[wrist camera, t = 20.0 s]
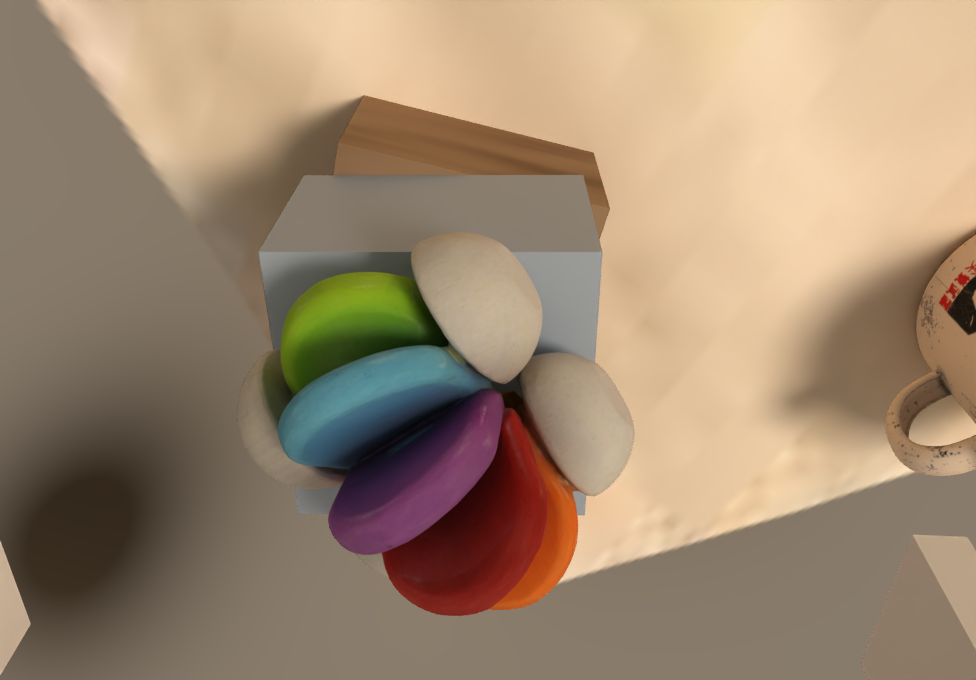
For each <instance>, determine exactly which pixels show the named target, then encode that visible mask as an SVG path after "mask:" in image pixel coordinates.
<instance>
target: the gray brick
mask: <svg viewBox="0 0 976 680" xmlns="http://www.w3.org/2000/svg"><path fill="white" fill-rule="evenodd" d="M450 232H468V233H475V234H480V235H483V236H486V237H489V238H491V239H494V240H496V241H498V242H499V243H501V244H503V245H504V246H505V247H506V248H508V249H509V250H510V252H511V253H512V254H513V255H514V256H515V257H516V258H517V259H518V261H519V262H520V263H521V264H522V266H523V267H524V269H525V270H526V272H527V274H528V275H529V277H530V278H531V280H532V282H533V284H534V286H535V288H536V290H537V293H538V295H539V298H540V300H541V305H542V328H541V333H540V337H539V341H538V344H537V346H536V349H535V351H534V353H533V355H532V356H531V357H533V356H536V355H540V354H546V353H555V352H561V353H569V354H575V355H578V356H581V357H584V358H586V359H588V360H590V361H592V362H594V363H595V353H596V338H597V323H598V308H599V293H600V279H601V264H602V249H601V245H600V241H599V237H598V233H597V229H596V225H595V221H594V216H593V212H592V208H591V204H590V200H589V196H588V192H587V188H586V184H585V180H584V176H583V175H304V176H303V178H302V180H301V181H300V183H299V185H298V186H297V188H296V190H295V191H294V193H293V195H292V196H291V198H290V200H289V201H288V203H287V205H286V206H285V208H284V210H283V211H282V213H281V215H280V216H279V218H278V220H277V221H276V223H275V225H274V227H273V228H272V230H271V232H270V233H269V235H268V237H267V238H266V240H265V242H264V243H263V245H262V247H261V248H260V250H259V259H260V266H261V272H262V279H263V285H264V292H265V298H266V305H267V311H268V318H269V324H270V331H271V337H272V344H273V350H274V349H280V347H281V338H282V331H283V326H284V322H285V319H286V317H287V314H288V312H289V310H290V309H291V307H292V306H293V304H294V303H295V302H296V301H297V299H298V298H299V297H300V296H301V295H302V294H304V293H305V292H306V291H307V290H308V289H309V288H311V287H312V286H314V285H315V284H316V283H318V282H320V281H322V280H324V279H327V278H329V277H333V276H336V275H340V274H345V273H353V272H383V273H389V274H394V275H398V276H404V277H409V278H412V279H414V280H415V277H414V274H413V269H412V264H411V253H412V249H413V248H414V246H415V245H417V244H418V243H419V242H420V241H423V240H425V239H427V238H430V237H433V236H436V235H439V234H444V233H450ZM490 383H491V386H492V387H493V388H494V389H495V390H496V391H498V392H499V393H500V392H510V391H512V390H513V391H515V392H516V393H517V394H518V395H519V396H520V397H521V398H522V395H521V388H520V386H519V383H518V375H516V376H515V377H514V378H513V379H512V380H511V381H510V382H508V383H506V384H500V383H497V382H494V381H491V382H490ZM340 487H341V485H339V486H336V487H331V488H326V489H318V490H313V489H302V488H297V487H294V488H295V494H296V500H297V507H298V513H299V514H329V512H330V509H331V506H332V504H333V502H334V500H335V498H336V496H337V494H338V491H339V489H340ZM573 496H574V500H575V503H576V509H577V515H585V502H586V495H585V494H583V493H582V492H580V491H574V492H573Z"/></svg>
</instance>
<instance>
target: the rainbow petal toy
mask: <svg viewBox="0 0 976 680" xmlns="http://www.w3.org/2000/svg"><path fill="white" fill-rule="evenodd" d="M411 264H412V269H413V274H414V277H415V280H414V279H412V278H409V277H404V276H398V275H394V274H389V273H383V272H353V273H345V274H340V275H336V276H333V277H329V278H327V279H324V280H322V281H320V282H318V283H316V284H315V285H314V286H312V287H311V288H309V289H308V290H307V291H306V292H305V293H304V294H302V295H301V296H300V297H299V298H298V299H297V301H296V302H295V303H294V304H293V306H292V307H291V309H290V310H289V312H288V314H287V317H286V319H285V322H284V326H283V331H282V338H281V347H280V349H274V350H271V351H269V352H267V353H266V354H264V355H263V356H262V357H261V358H260V359H259V360H258V361H257V362H256V363H255V364H254V366H253V367H252V369H251V370H250V371H249V373H248V375H247V377H246V378H245V380H244V382H243V385H242V388H241V391H240V394H239V400H238V407H237V421H238V426H239V431H240V436H241V438H242V441H243V443H244V445H245V447H246V449H247V451H248V453H249V454H250V456H251V457H252V459H253V460H254V461H255V463H256V464H257V465H258V466H259V467H260V468H261V469H262V470H263V471H265V472H266V473H267V474H269V475H270V476H271V477H273V478H274V479H276V480H278V481H280V482H282V483H285V484H287V485H290V486H293V487H297V488H302V489H313V490H318V489H326V488H331V487H336V486H339V485H341V487H340V489H339V491H338V494H337V496H336V498H335V500H334V502H333V504H332V506H331V509H330V512H329V518H328V522H329V528H330V530H331V532H332V535H333V536H334V538H335V539H336V540H337V541H338V542H339V544H340V545H341V546H343V547H344V548H345V549H347V550H349V551H351V552H353V553H355V554H356V556H357V557H358V558H359V559H360V560H361V561H362V562H363V563H364V564H365V565H367V566H368V567H369V568H371V569H372V570H374V571H376V572H377V573H379V574H381V575H383V576H385V577H389V579H390V580H391V582H392V583H393V585H394V586H395V588H396V589H397V590H398V591H399V592H400V593H401V595H403V596H404V597H405V598H406V599H408V600H409V601H410V602H411V603H413V604H415V605H416V606H418V607H420V608H422V609H424V610H426V611H429V612H432V613H435V614H440V615H449V616H462V615H471V614H476V613H479V612H482V611H484V610H487V609H493V610H510V609H517V608H521V607H525V606H527V605H531V604H533V603H535V602H537V601H538V600H539V599H541V598H542V597H544V596H545V595H546V594H547V593H548V592H549V591H550V590H552V589H553V588H554V587H555V585H556V584H557V583H558V582H559V580H560V579H561V578H562V576H563V575H564V573H565V571H566V569H567V568H568V566H569V564H570V562H571V559H572V557H573V554H574V551H575V547H576V544H577V535H578V518H577V509H576V503H575V500H574V496H573V492H574V491H580V492H582V493H583V494H585V495H588V496H596V495H598V494H600V493H602V492H603V491H604V490H606V489H607V488H608V487H609V486H610V485H611V484H612V483H613V482H614V481H615V480H616V479H617V478H618V476H619V475H620V474H621V472H622V471H623V469H624V467H625V465H626V463H627V461H628V459H629V456H630V454H631V450H632V446H633V440H634V425H633V421H632V418H631V415H630V412H629V410H628V408H627V406H626V404H625V402H624V400H623V398H622V396H621V394H620V392H619V391H618V389H617V387H616V386H615V384H614V382H613V381H612V380H611V378H610V377H609V376H608V374H607V373H606V372H605V371H604V370H603V368H602V367H600V366H599V365H598V364H596V363H594V362H592V361H590V360H588V359H586V358H584V357H581V356H578V355H575V354H569V353H561V352H555V353H546V354H540V355H536V356H533V357H531V356H532V355H533V353H534V351H535V349H536V346H537V344H538V341H539V337H540V333H541V328H542V305H541V300H540V298H539V295H538V293H537V290H536V288H535V286H534V284H533V282H532V280H531V278H530V277H529V275H528V274H527V272H526V270H525V269H524V267H523V266H522V264H521V263H520V262H519V261H518V259H517V258H516V257H515V256H514V255H513V254H512V253H511V252H510V250H509V249H508V248H506V247H505V246H504V245H503V244H501V243H499V242H498V241H496V240H494V239H491V238H489V237H486V236H483V235H480V234H475V233H468V232H450V233H444V234H439V235H436V236H433V237H430V238H427V239H425V240H423V241H420V242H419V243H418V244H417V245H415V246H414V248H413V249H412V253H411ZM516 375H518V383H519V386H520V388H521V395H522V398H521V397H520V396H519V395H518V394H517V393H516V392H515V391H513V390H512V391H510V392H500V393H499V392H498V391H496V390H495V389H494V388H493V387H492V386H491V383H490V382H491V381H494V382H497V383H500V384H506V383H508V382H510V381H511V380H512V379H513V378H514V377H515V376H516Z"/></svg>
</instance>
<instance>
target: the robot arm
mask: <svg viewBox="0 0 976 680" xmlns="http://www.w3.org/2000/svg"><path fill="white" fill-rule="evenodd" d="M29 626H30V621H29V618H28V616H27V613H26V611H25V607H24V605H23V602H22V599H21V596H20V594H19V591H18V588H17V585H16V583H15V580H14V577H13V575H12V572H11V569H10V566H9V564H8V561H7V558H6V555H5V553H4V550H3V547H2V544H1V542H0V675H1V673H2V671H3V670H4V668H5V666H6V665H7V663H8V661H9V660H10V658H11V656H12V654H13V653H14V651H15V649H16V648H17V646H18V644H19V643H20V641H21V639H22V638H23V636H24V634H25V632H26V630H27V629H28V627H29ZM861 664H862V667H863V669H864V672H865V674H866V677H867V679H868V680H976V551H975V549H974V548H973V546H972V544H971V543H970V541H969V540H968V538H967V537H954V536H931V535H912V537H911V540H910V542H909V545H908V547H907V550H906V552H905V555H904V557H903V559H902V562H901V564H900V567H899V569H898V572H897V574H896V577H895V579H894V581H893V584H892V586H891V589H890V592H889V594H888V596H887V598H886V601H885V604H884V606H883V608H882V611H881V613H880V616H879V618H878V621H877V623H876V625H875V628H874V630H873V633H872V635H871V638H870V640H869V643H868V645H867V647H866V650H865V653H864V655H863V657H862V660H861Z"/></svg>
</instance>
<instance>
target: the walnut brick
mask: <svg viewBox="0 0 976 680" xmlns="http://www.w3.org/2000/svg"><path fill="white" fill-rule="evenodd" d="M333 175H583V176H584V180H585V184H586V188H587V192H588V196H589V200H590V204H591V208H592V212H593V216H594V221H595V225H596V229H597V233H598V237H599V239H600V236H601V233H602V230H603V227H604V224H605V221H606V219H607V216H608V213H609V210H610V207H609V204H608V200H607V197H606V194H605V190H604V187H603V183H602V180H601V177H600V173H599V170H598V166H597V163H596V160H595V156H594V153H592V152H588V151H584V150H580V149H576V148H572V147H568V146H564V145H560V144H556V143H552V142H548V141H544V140H540V139H536V138H532V137H528V136H524V135H520V134H516V133H512V132H508V131H504V130H500V129H496V128H492V127H488V126H484V125H480V124H476V123H472V122H468V121H464V120H460V119H456V118H452V117H448V116H444V115H440V114H436V113H432V112H428V111H424V110H420V109H416V108H412V107H408V106H404V105H400V104H396V103H392V102H388V101H384V100H380V99H376V98H372V97H368V96H363V98H362V100H361V102H360V104H359V106H358V107H357V109H356V111H355V113H354V115H353V117H352V118H351V120H350V122H349V124H348V126H347V128H346V129H345V131H344V133H343V135H342V137H341V139H340V140H339V142H338V148H337V154H336V160H335V166H334V172H333Z"/></svg>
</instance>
